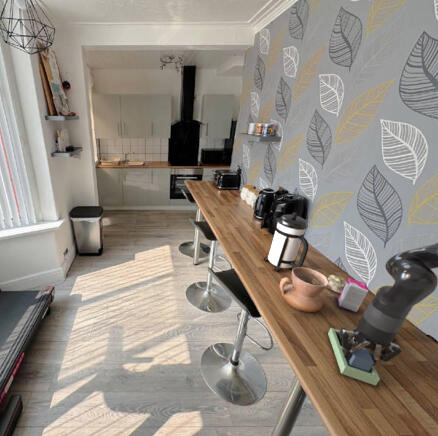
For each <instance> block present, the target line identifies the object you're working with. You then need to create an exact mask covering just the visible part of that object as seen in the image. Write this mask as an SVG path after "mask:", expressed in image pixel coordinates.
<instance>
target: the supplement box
mask: <svg viewBox="0 0 438 436" xmlns="http://www.w3.org/2000/svg"><path fill="white" fill-rule="evenodd" d="M346 281H347V283H346V285H345V287H344V289H343V291H342V293H340V295H339V296H338V299H337V301H338V302H337V303H338V307H339V308H340V309H344V310H347V311H349V312H352V313H355V314H356V313H357V312H358V311H359V309H360V308H361V305H362V304H363V302H364V300H365V298H366V296H367V295H368V294H369V288H368V285H367V283H366V282H363V281H360V280H356V279H354V278H350V277H349V278H348V279H347V280H346Z"/></svg>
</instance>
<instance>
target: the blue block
mask: <svg viewBox="0 0 438 436" xmlns="http://www.w3.org/2000/svg"><path fill="white" fill-rule="evenodd" d="M352 347H353V346H352ZM370 354H371V352H369V349H367V348H366V349H363V348H362V349H361V350H357V351H355V352H354V354H353V355H352V357H351V359H350V361H348V362H349V364H350V366H352V367H355V368H358V369H361V370H364V371H367V372H369V370H370V369H371V367H372V366H373V364H374V362H373V360H372V357H371V355H370Z"/></svg>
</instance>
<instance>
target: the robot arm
mask: <svg viewBox="0 0 438 436" xmlns="http://www.w3.org/2000/svg"><path fill="white" fill-rule="evenodd" d="M384 268H385V270H386V272H387V273H388V274H389V276H390V277H391V278H392V279H393V280H394V283H393V285H383V286H381V287H380V288H378V290H377V291H376V293H375V294H374V296H373V298H372V300H371V301H370V303H369V304H368V305H367V307H366V308H365V310H364V311H363V314H362V316H361V317H360V319H359V321H358V323H357V326H356V327H355V328H354V329H353V330H349V329H348V330H347V329H346V328H345V327H341V328H340V331H341V344H342V346H343V348H344V349H345V350H344V352H343V354H344V357H345V358H346V360H348V361H350V359H351V357H352V355H353V354H354V352H355V351H357V350H361V349H362V348H366V349H367V350H370V355H371V357H372V360H373V362H374V364H373V366H374V367H375V365H376V363H377V362H379V361H383V362H384V363H387V362H389V361H391V360H392V359H395V357H397V356H398V355H399V354H401V353H402V352H403V351H402V350H401V348H400V347H401V346H399V345H398V343H397V342H393V341H394V340H395V338H396V336H397V335H398V333H399V332H400V330H401V329H402V327H403V326H404V324H405V321H406V320H407V317H408V316H409V314H410V313H411V311H412V309H413V308H414V306H416V305H417V304H419V303H420V302H422V301H424V300H425V299H426V298H427V297H429V296H431V295H432V294H433V293H434V292H435V291H436V289H437V288H438V275H437V274H436V272H434V270H433V269H438V242H436V243H433V244H429V245H425V246H421V247H416V248H413V249H408V250H405V251H402V252H399V253H397V254H394V255H393V256H391V257H390V258H389V259H387V261H386V262H385V267H384ZM351 336H354V337H353V338H352V339H351V341H350V342H349V343H348V339H350V338H351ZM352 346H353V347H352ZM373 366H372V367H373Z"/></svg>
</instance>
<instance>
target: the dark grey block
mask: <svg viewBox="0 0 438 436" xmlns="http://www.w3.org/2000/svg"><path fill="white" fill-rule="evenodd" d="M353 337H354V336H351V338H350V339H348V343H349V342H350V341H351V339H352V338H353ZM337 338H338V340H339V343H340V346H342V344H341V330H340V332H339V334H338V336H337Z"/></svg>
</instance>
